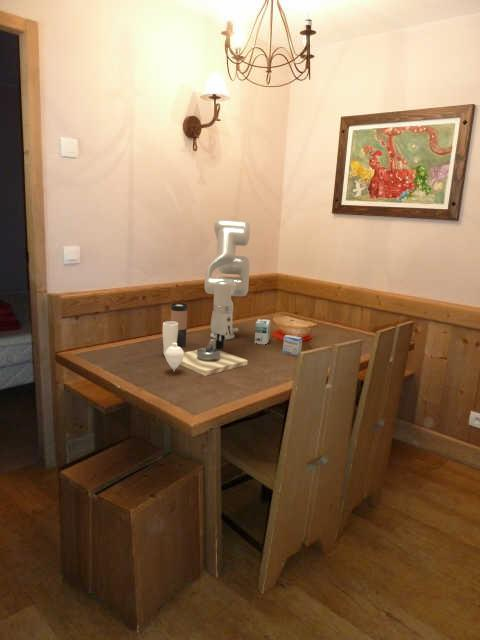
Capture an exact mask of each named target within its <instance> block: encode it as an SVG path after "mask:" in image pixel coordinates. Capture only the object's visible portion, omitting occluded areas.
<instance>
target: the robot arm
mask: <svg viewBox="0 0 480 640" xmlns="http://www.w3.org/2000/svg"><path fill="white" fill-rule="evenodd" d="M213 227H214V233H215V236H216V239H217V247H216V256H215V258H214V259H213V260H211V262H210V263H209V264H208V265H207V268H206V270H205V275H204V277H205V278H204V290H205V292H206V294H209V295H213V305H212V306H213V309H212V313H211V317H210V318H211V319H210V331H211V333H210V337H211V339H214V340H215V348H216V349H219V350H223V349H224V348H225V347H224V346H225V340H231V339H232V340H233V339H234V338H235V336H236V335H235V334H234V333H235V332H238V331H239V328H238V327H233V319H234V318H233V317H234V314H233V313H234V303H233V301H232V297H245V296H247V294H248V292H249V281H250V260H249V258H248V257H247V256H244V255H236V248H237V247H236V246H239V247H240V246H242V247H244V246H247V245H248V244H249V242H250V234H251V233H250V230H251V229H250V228H251V227H250V223H249V222H248V221H246V220H238V219H237V220H236V219H235V220H234V219H219V220H216V221H215V222H214V225H213ZM217 269H218V270H217ZM216 270H217V271H219V273H220V274H224V275H238V276H239V277H238V276H237V277H236V276H219V277H212V274H213V272H214V271H216Z"/></svg>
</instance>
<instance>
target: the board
mask: <svg viewBox="0 0 480 640" xmlns="http://www.w3.org/2000/svg"><path fill="white" fill-rule="evenodd" d="M197 350H198V349H195V350H191V351H184V358H183V360H182V362H181V363H180V364H179V366H181V367H184V368H186V369H188V370H191V371H193V372H195V373H198V374H200V375H202V376H205V377H206V376H210V375H214V374H218V373H221V372H224V371H229V370H233V369H237V368H240V367H245V366H248V360H247V359H245V358H242V357H240V356H237V355H234V354H232V353H229V352H226V351H222V349H219V350H220V359H219V360H216V361H203V360H200V359H198V358H197Z"/></svg>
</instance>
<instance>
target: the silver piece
mask: <svg viewBox="0 0 480 640" xmlns="http://www.w3.org/2000/svg"><path fill="white" fill-rule="evenodd" d="M196 350H197V358H198V359H200V360H203V361H216V360H219V359H220V350H221V349H216V339H215V338H211V339H210V340H209V342H208V343H207V345H206V347H199V348H197V349H196Z"/></svg>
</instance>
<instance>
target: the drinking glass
mask: <svg viewBox="0 0 480 640" xmlns="http://www.w3.org/2000/svg"><path fill="white" fill-rule="evenodd" d="M177 337H178V323H177V322H173V321H171V320H169V321H164V322H163V323H162V345H163V357H165V352H166V350H167V349H168V348H169V347H171V346H173V344H172V343H177Z"/></svg>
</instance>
